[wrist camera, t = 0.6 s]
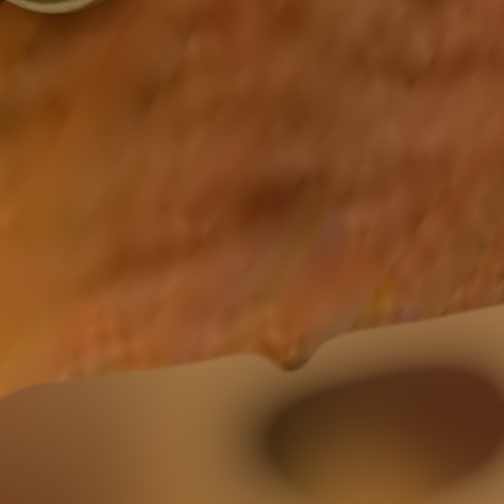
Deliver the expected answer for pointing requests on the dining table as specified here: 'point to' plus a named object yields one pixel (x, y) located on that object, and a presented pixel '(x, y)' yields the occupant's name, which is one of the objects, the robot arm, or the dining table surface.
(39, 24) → the dining table surface
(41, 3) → the mug
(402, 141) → the dining table surface
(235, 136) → the dining table surface
